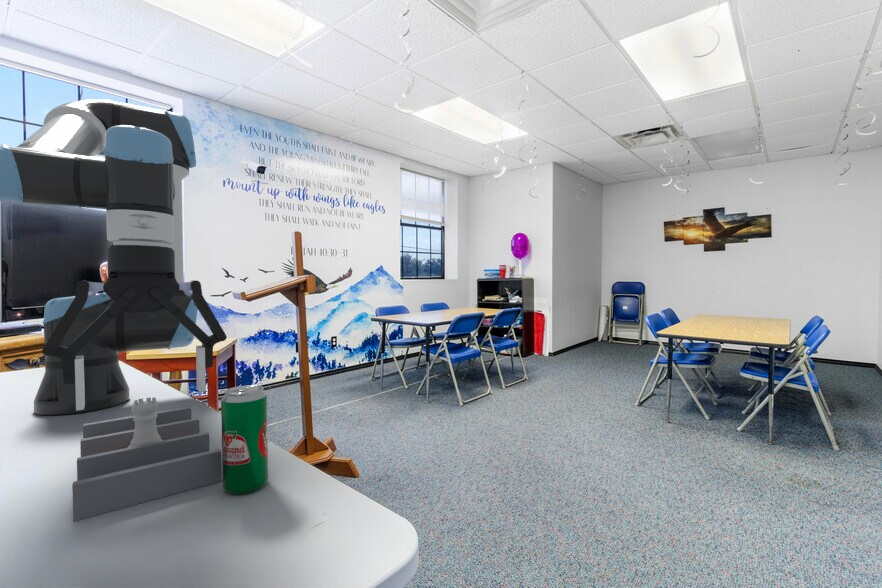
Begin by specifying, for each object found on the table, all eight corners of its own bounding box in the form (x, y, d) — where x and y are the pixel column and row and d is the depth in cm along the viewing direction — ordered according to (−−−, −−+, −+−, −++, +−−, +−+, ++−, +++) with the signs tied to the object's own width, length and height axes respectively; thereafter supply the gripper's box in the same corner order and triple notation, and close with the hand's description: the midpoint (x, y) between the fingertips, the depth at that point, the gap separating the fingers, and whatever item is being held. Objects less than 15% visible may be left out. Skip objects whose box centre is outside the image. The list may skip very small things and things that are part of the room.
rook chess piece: (139, 451, 59) (138, 396, 59) (172, 450, 60) (171, 395, 59) (117, 464, 55) (116, 405, 55) (153, 463, 55) (151, 404, 55)
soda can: (212, 492, 49) (211, 392, 49) (247, 474, 54) (245, 382, 54) (244, 500, 47) (242, 396, 47) (277, 480, 52) (275, 386, 52)
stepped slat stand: (84, 448, 63) (83, 424, 63) (190, 428, 71) (190, 406, 71) (73, 521, 43) (72, 485, 43) (221, 480, 52) (221, 451, 52)
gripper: (6, 237, 46) (12, 425, 47) (246, 248, 62) (248, 389, 62) (17, 241, 52) (23, 408, 53) (234, 251, 67) (236, 379, 68)
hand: (145, 398), depth 57 cm, fingers open, 13 cm apart
